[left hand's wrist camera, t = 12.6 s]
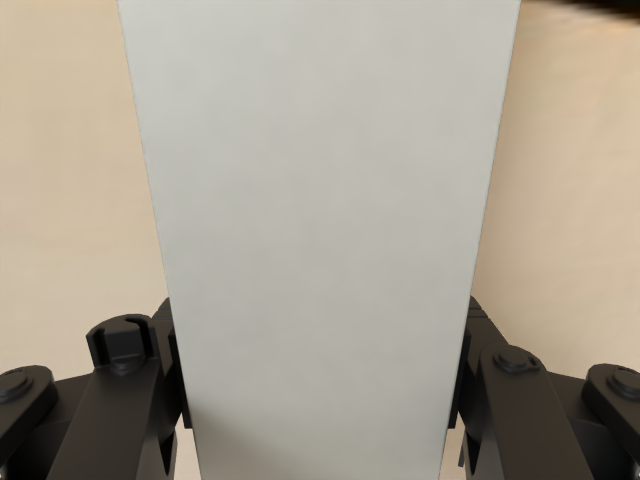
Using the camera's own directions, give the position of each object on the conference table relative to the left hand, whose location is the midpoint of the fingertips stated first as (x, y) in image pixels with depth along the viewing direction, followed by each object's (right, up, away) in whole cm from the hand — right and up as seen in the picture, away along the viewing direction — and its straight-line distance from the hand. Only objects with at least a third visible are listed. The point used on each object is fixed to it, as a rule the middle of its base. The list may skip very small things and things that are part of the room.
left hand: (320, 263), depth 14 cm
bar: (0, +7, -2) cm, 7 cm away
